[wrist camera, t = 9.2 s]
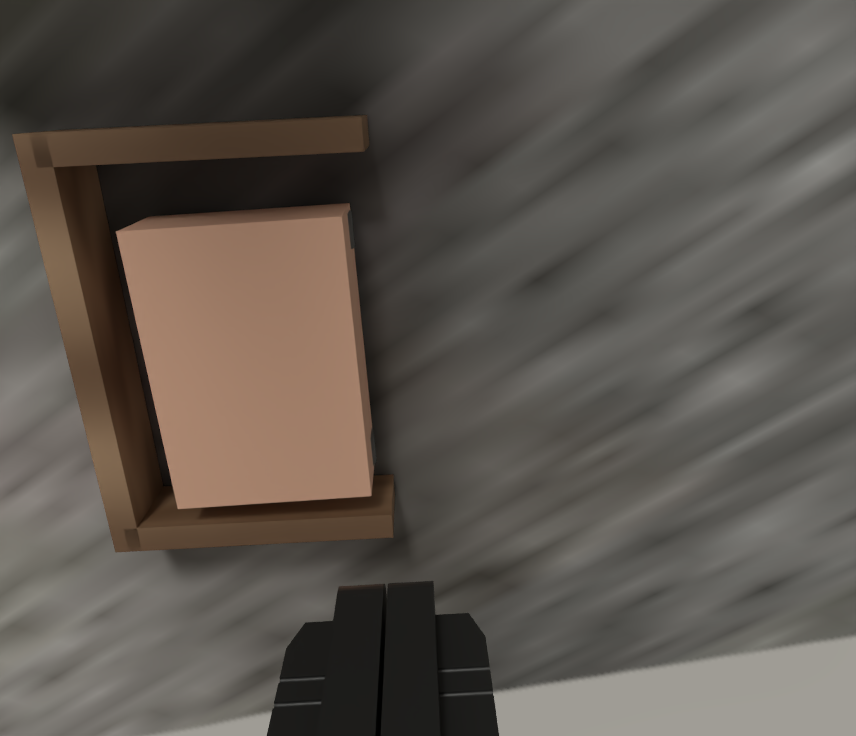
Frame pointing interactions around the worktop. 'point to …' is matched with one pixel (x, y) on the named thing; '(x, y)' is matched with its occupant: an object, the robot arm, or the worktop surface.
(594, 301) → the worktop surface
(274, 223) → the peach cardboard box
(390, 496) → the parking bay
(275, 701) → the robot arm
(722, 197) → the worktop surface
